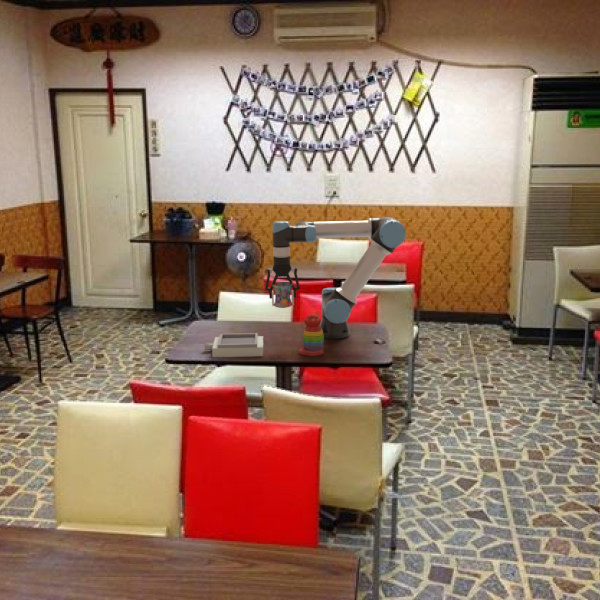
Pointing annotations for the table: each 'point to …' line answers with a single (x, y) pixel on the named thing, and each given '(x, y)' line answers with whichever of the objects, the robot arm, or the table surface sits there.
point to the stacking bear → (312, 336)
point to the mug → (282, 294)
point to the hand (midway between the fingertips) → (283, 304)
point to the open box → (236, 345)
